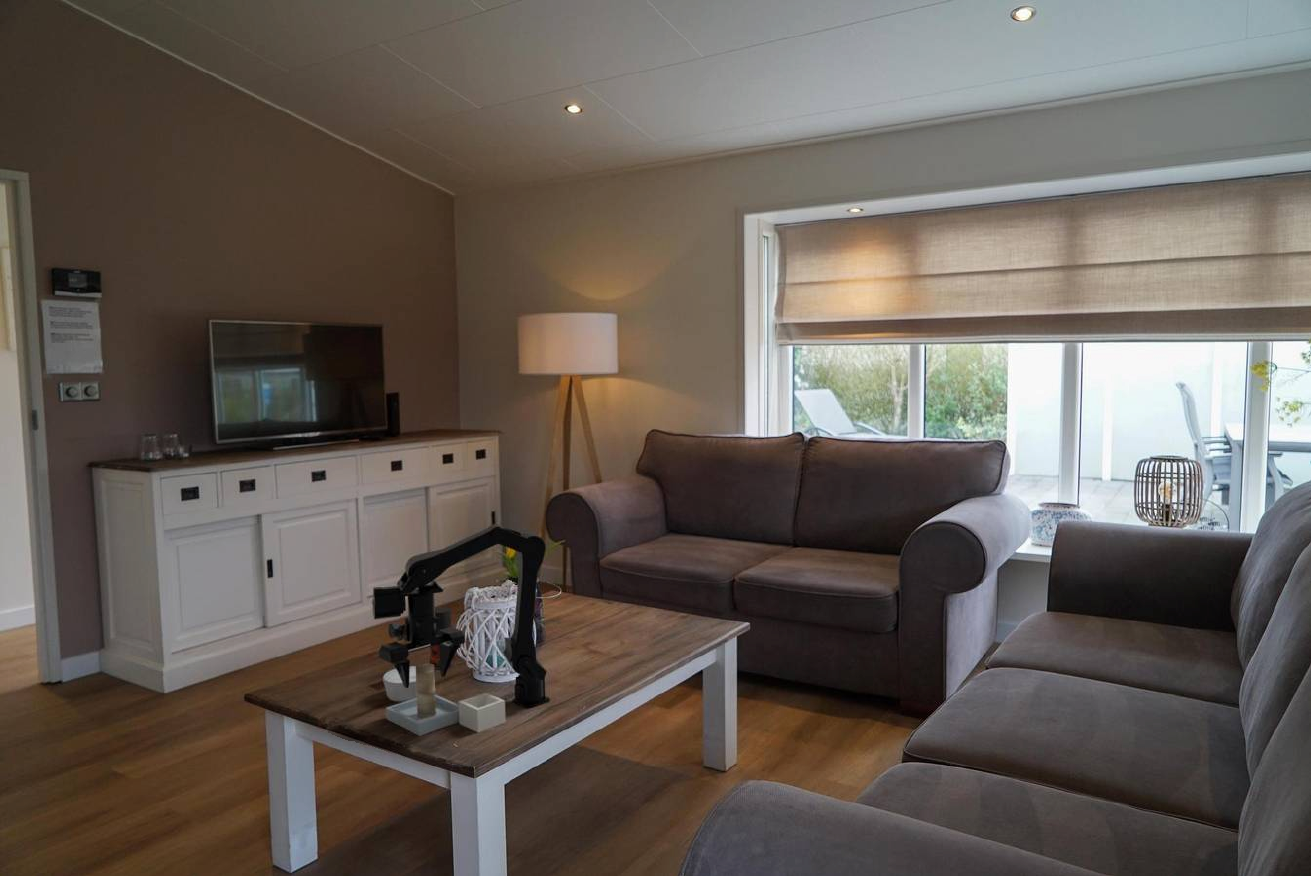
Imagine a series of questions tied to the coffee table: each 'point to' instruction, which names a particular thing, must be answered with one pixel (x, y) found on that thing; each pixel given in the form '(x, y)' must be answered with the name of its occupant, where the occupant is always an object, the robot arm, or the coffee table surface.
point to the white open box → (482, 712)
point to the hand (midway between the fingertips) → (424, 681)
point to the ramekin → (400, 686)
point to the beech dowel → (425, 690)
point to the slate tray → (409, 718)
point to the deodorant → (443, 623)
